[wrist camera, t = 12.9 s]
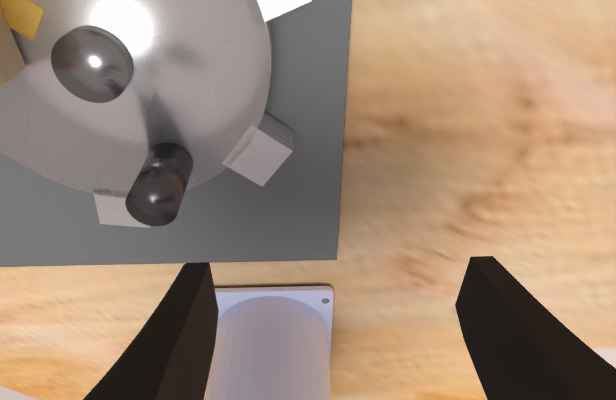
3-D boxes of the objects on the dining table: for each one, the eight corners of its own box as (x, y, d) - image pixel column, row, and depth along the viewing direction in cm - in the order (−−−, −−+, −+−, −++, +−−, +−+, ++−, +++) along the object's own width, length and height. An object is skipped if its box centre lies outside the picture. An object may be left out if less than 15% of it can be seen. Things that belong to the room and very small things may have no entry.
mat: (335, 247, 25) (336, 259, 24) (-89, 256, 24) (-102, 269, 23) (361, -245, 13) (366, -253, 12) (-485, -252, 12) (-539, -261, 11)
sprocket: (388, 14, 16) (418, 57, 12) (200, 243, 23) (182, 317, 19) (-100, -417, 10) (-338, -596, 6) (-161, 69, 16) (-294, 126, 13)
